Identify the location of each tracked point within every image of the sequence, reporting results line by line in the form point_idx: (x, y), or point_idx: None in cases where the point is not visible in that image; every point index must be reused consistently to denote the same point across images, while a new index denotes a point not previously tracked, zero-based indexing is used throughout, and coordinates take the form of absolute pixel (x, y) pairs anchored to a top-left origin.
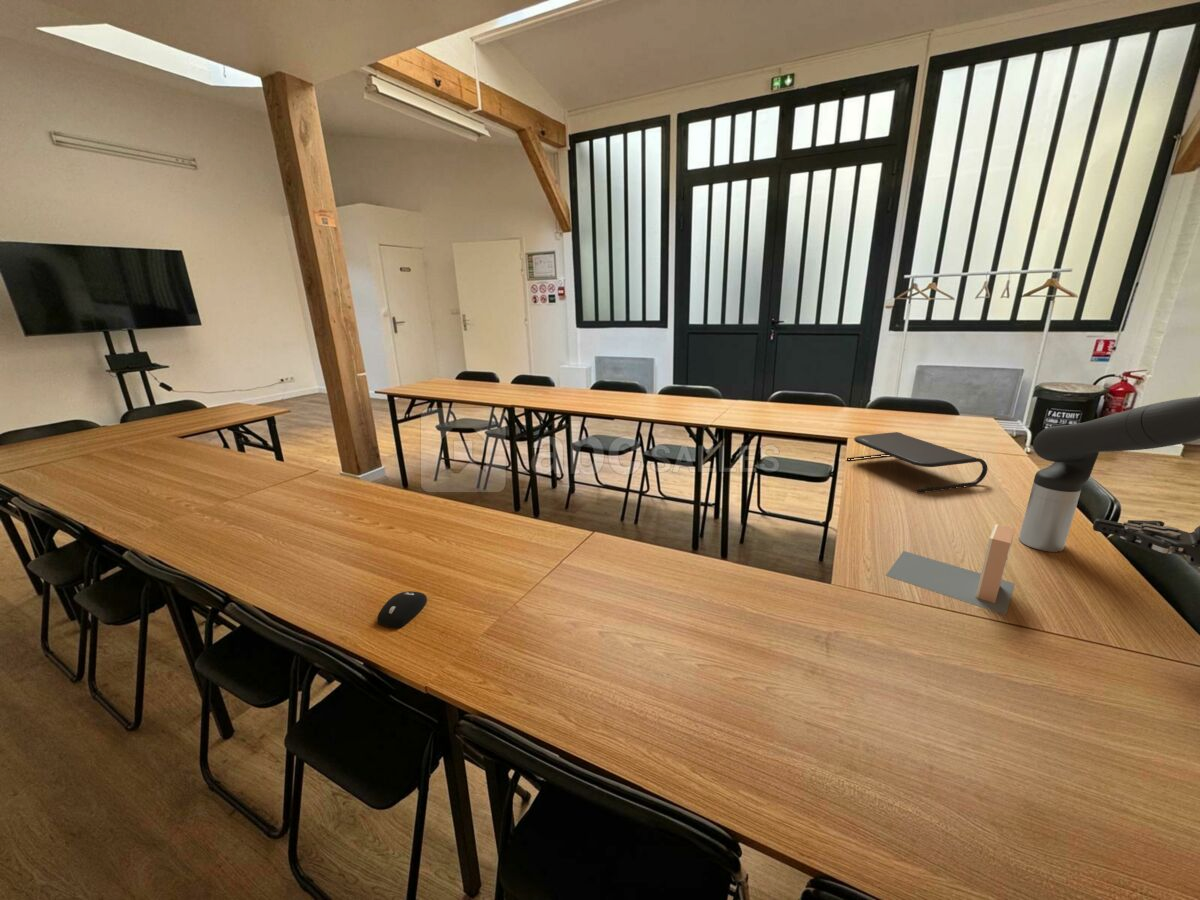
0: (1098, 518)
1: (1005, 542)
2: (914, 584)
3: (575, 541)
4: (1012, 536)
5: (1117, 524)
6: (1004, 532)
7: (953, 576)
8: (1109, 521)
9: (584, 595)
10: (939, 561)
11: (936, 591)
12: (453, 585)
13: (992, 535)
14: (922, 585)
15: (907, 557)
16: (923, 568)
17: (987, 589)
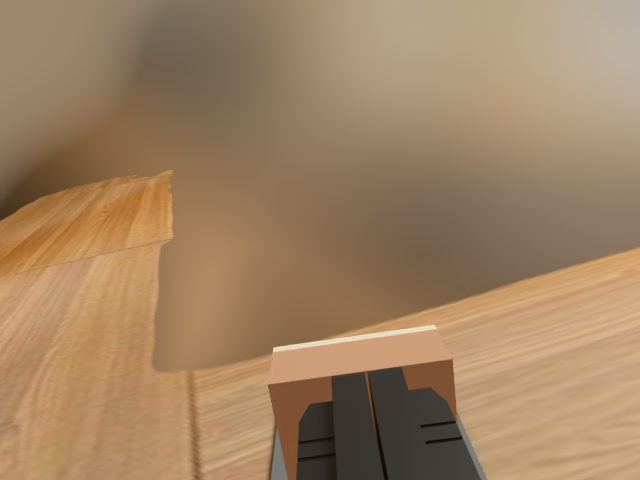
0: (399, 368)
1: (270, 377)
2: (278, 436)
3: (148, 242)
4: (349, 373)
5: (342, 476)
6: (370, 353)
7: None
8: (389, 422)
9: (34, 285)
10: (463, 429)
11: (275, 475)
12: (23, 254)
13: (306, 345)
14: None
15: None
16: None
17: None
